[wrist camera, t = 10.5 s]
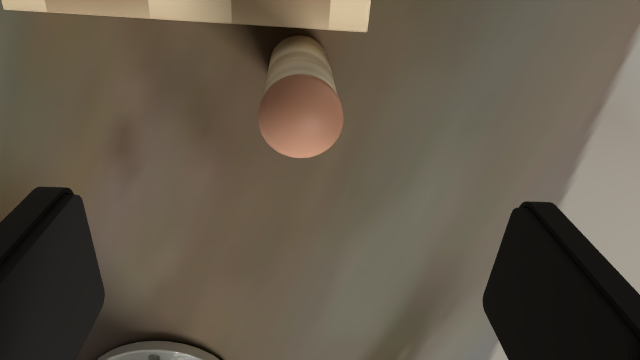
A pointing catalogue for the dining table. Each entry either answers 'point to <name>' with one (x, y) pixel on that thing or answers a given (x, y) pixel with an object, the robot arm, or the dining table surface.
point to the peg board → (219, 11)
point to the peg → (300, 100)
